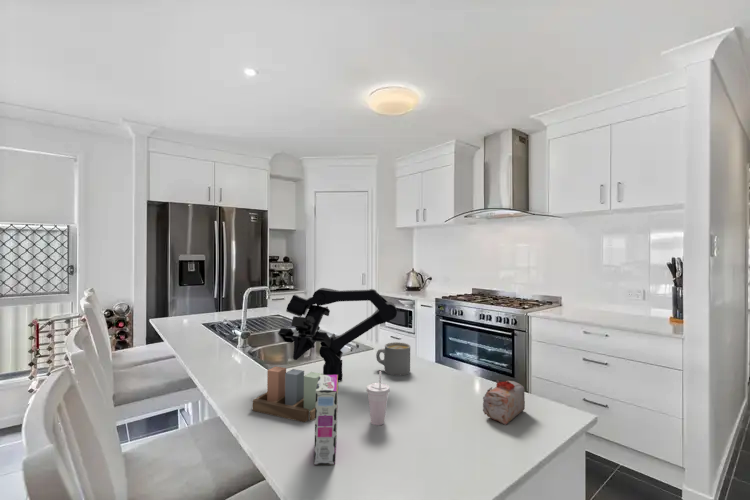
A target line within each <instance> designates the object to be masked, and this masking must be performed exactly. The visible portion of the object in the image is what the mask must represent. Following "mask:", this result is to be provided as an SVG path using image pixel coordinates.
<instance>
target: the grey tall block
mask: <svg viewBox="0 0 750 500" xmlns="http://www.w3.org/2000/svg"><path fill="white" fill-rule="evenodd" d="M304 376H305V370H300V369H294V368H292V369H290V370H287V371H286V373H285V404H286V405H291V406H293V405H294V404H296V403H297V402H299V401H300V400H302V399H303V398H304Z"/></svg>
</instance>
